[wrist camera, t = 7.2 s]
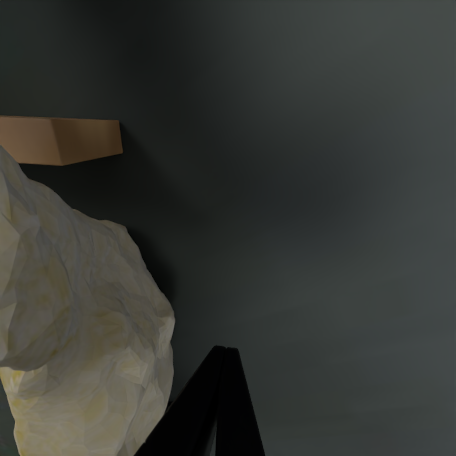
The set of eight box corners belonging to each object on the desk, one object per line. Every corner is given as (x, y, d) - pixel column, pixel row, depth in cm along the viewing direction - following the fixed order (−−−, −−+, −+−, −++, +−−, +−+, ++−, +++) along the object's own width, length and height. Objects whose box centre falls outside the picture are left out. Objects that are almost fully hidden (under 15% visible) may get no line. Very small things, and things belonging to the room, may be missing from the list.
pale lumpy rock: (158, 364, 21) (291, 516, 9) (58, 420, 17) (42, 861, 5) (113, 193, 20) (188, 96, 8) (-3, 208, 16) (-215, 55, 4)
